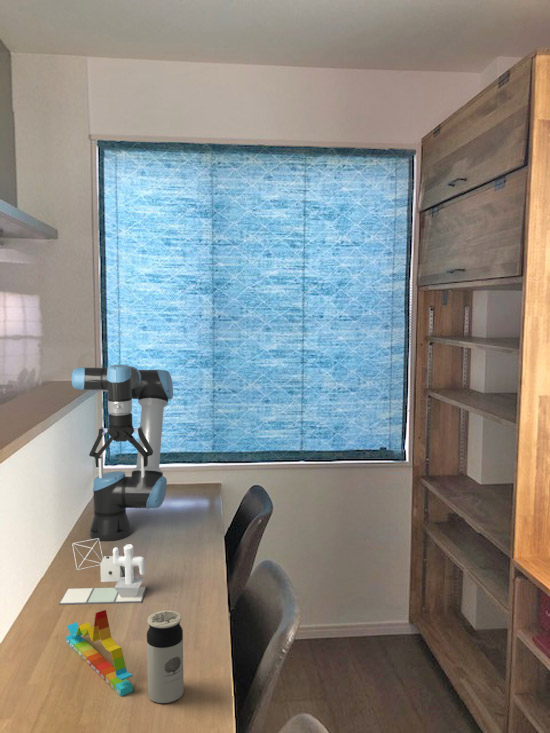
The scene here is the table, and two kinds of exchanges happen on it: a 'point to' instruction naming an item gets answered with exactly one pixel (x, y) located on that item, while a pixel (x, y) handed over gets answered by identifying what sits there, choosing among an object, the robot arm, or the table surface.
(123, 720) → the table surface
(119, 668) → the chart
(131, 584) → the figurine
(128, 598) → the game mat
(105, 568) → the die
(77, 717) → the table surface
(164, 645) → the travel mug
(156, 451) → the robot arm
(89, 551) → the geometric polyhedron
